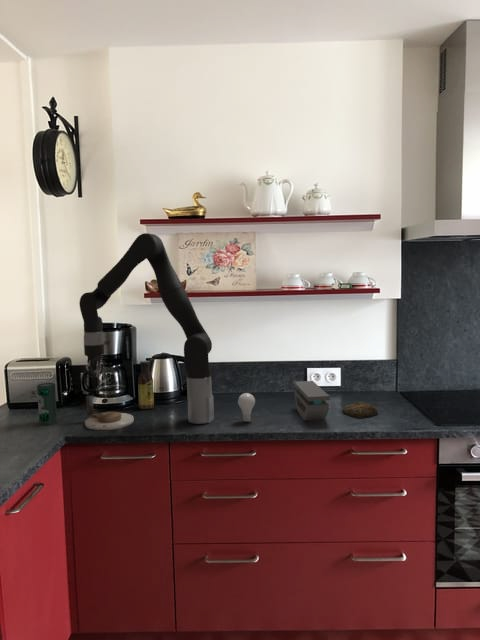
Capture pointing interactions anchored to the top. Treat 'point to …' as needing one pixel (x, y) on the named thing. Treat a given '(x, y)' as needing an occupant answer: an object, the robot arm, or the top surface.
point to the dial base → (109, 423)
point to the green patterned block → (47, 403)
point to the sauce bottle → (145, 386)
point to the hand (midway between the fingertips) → (95, 386)
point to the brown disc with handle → (103, 416)
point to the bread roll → (360, 410)
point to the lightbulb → (246, 405)
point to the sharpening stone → (311, 401)
